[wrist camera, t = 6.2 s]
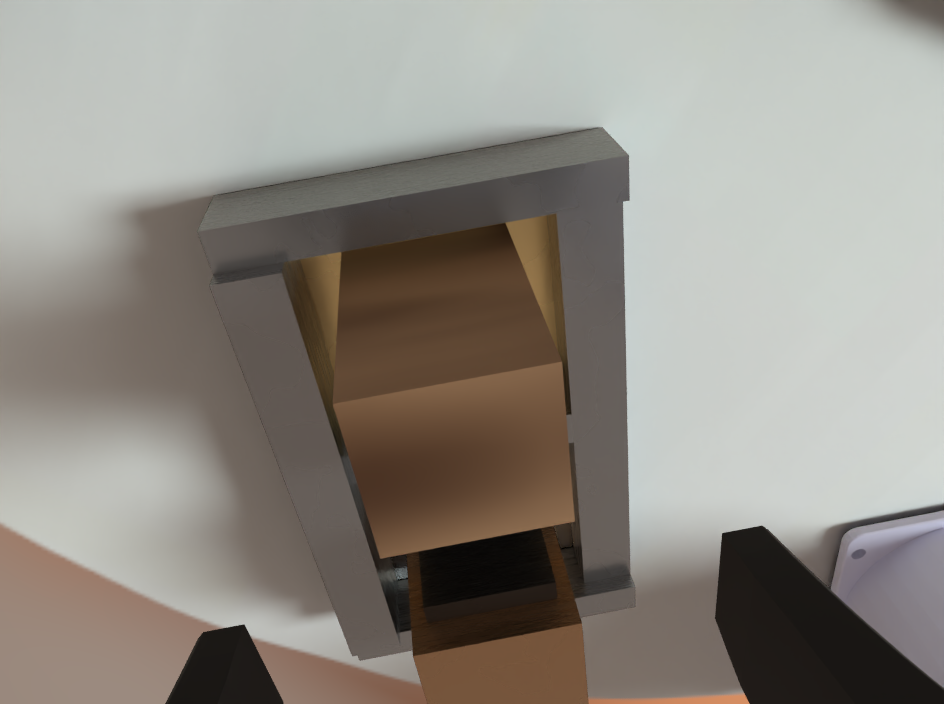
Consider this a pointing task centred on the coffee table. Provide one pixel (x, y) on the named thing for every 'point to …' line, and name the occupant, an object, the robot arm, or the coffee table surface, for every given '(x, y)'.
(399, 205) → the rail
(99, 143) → the coffee table surface
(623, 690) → the coffee table surface
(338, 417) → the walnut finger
